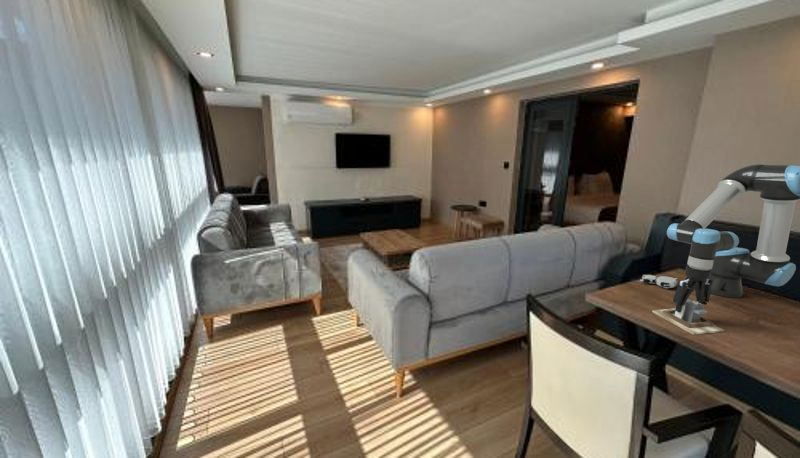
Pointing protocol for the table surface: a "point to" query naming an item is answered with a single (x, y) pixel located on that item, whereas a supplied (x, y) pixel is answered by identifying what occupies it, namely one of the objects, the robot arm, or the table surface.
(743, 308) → the table surface
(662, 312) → the pocket board
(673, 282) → the robot toy
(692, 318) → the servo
